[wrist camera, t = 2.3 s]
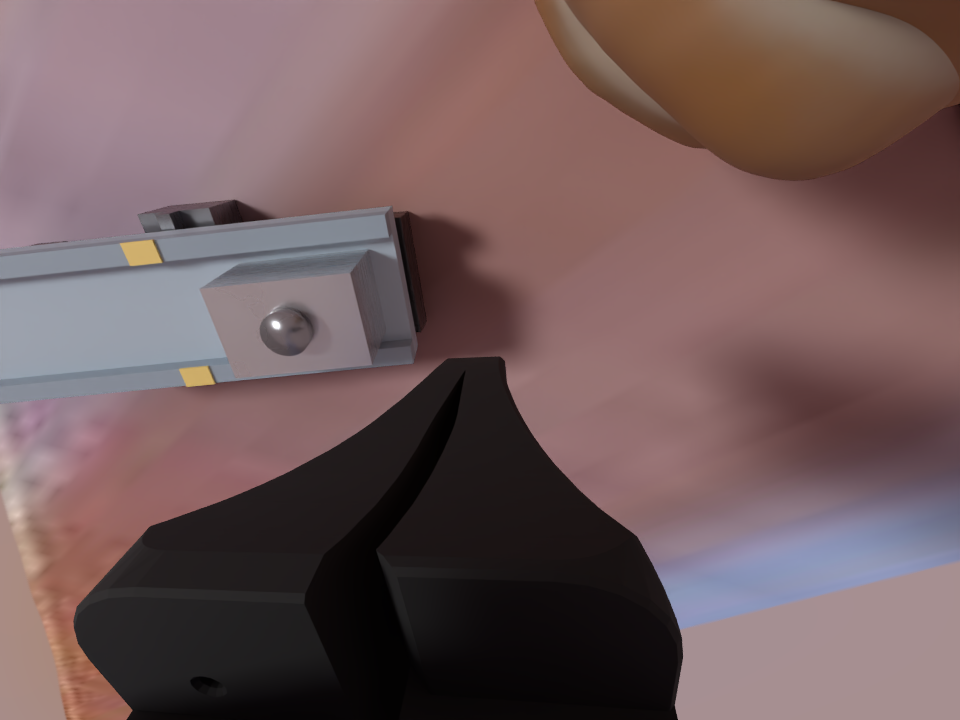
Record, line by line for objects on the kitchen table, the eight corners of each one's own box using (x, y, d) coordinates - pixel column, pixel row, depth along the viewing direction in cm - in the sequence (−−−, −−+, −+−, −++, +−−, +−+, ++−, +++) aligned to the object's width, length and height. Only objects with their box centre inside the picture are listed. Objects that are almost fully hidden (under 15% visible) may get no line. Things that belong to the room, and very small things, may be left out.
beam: (417, 345, 21) (413, 364, 19) (30, 383, 21) (-5, 405, 20) (391, 205, 18) (384, 214, 16) (-54, 254, 19) (-103, 267, 17)
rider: (386, 330, 19) (369, 371, 16) (268, 342, 19) (228, 385, 16) (368, 248, 18) (346, 277, 15) (240, 262, 18) (190, 294, 15)
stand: (430, 342, 22) (419, 366, 20) (99, 357, 25) (59, 380, 23) (403, 183, 19) (386, 193, 17) (24, 220, 22) (-32, 232, 19)
